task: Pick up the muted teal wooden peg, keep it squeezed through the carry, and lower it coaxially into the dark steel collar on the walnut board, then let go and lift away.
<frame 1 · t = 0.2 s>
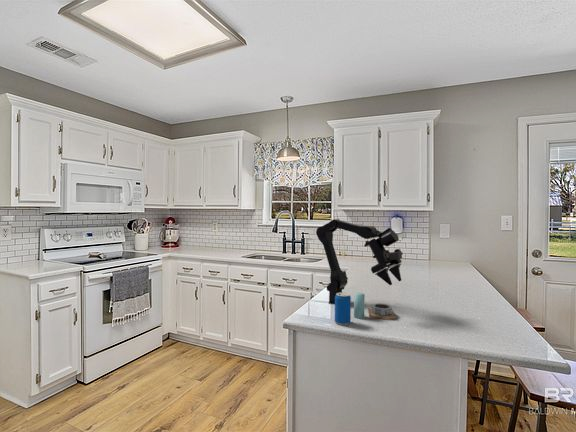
hand: (395, 282, 143), 15 cm above the counter, tool tilted 30°, fingers open, 9 cm apart
peg: (359, 316, 142), on the counter
base board: (381, 315, 145), on the counter
beverage can: (342, 323, 135), on the counter
collar: (381, 309, 145), on the base board, point 2 cm above the counter
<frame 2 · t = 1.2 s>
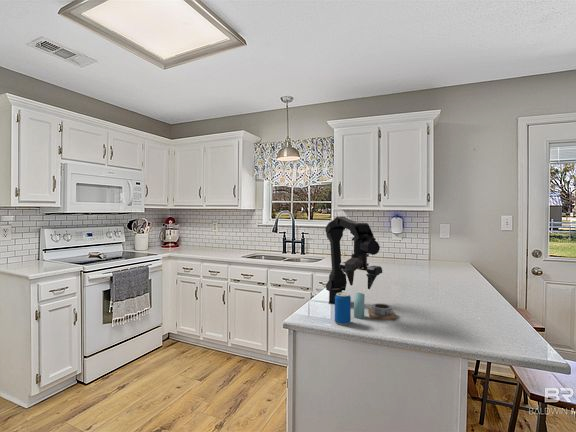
hand: (359, 287, 142), 13 cm above the counter, tool pointing down, fingers open, 9 cm apart
nothing on the counter moved.
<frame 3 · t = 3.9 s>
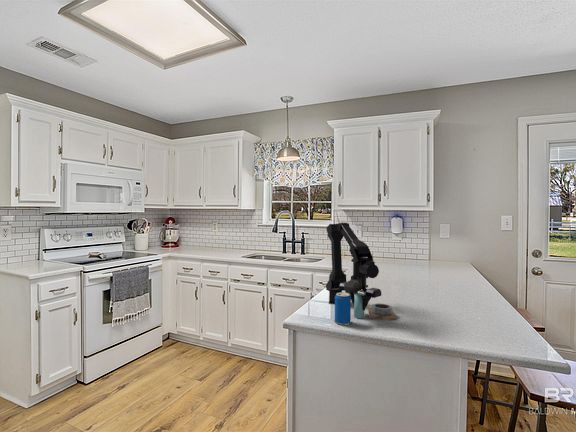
hand: (359, 308, 142), 4 cm above the counter, tool pointing down, fingers closed on peg, 4 cm apart
peg: (359, 316, 142), on the counter, touching gripper
everything else where it was.
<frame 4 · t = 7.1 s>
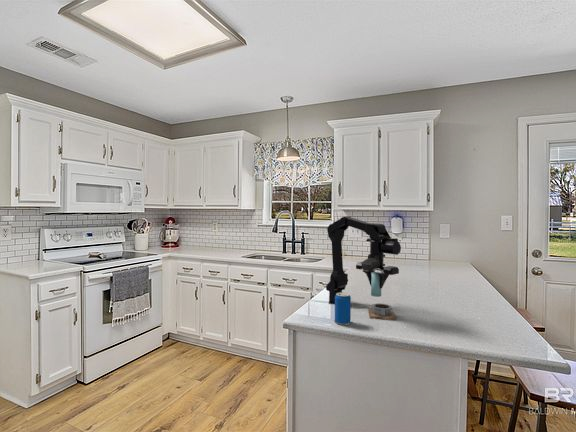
hand: (376, 287, 144), 13 cm above the counter, tool pointing down, fingers closed on peg, 4 cm apart
peg: (376, 295, 144), point 9 cm above the counter, touching gripper
everything else where it was.
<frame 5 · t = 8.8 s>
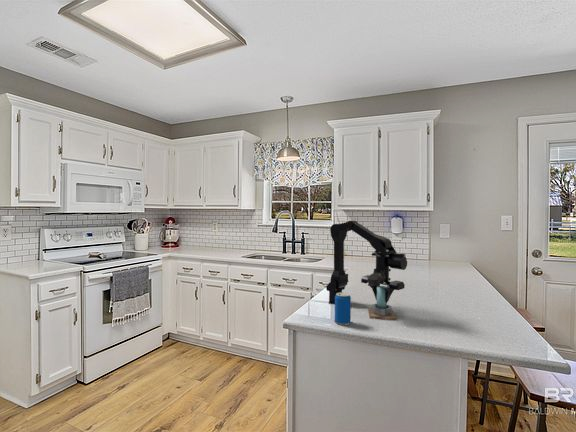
hand: (381, 301, 145), 6 cm above the counter, tool pointing down, fingers closed on peg, 4 cm apart
peg: (381, 309, 145), point 3 cm above the counter, touching gripper
everything else where it was.
when the fingers open (5 cm above the counter, at t = 10.1 s): peg stays where it is, resting on base board.
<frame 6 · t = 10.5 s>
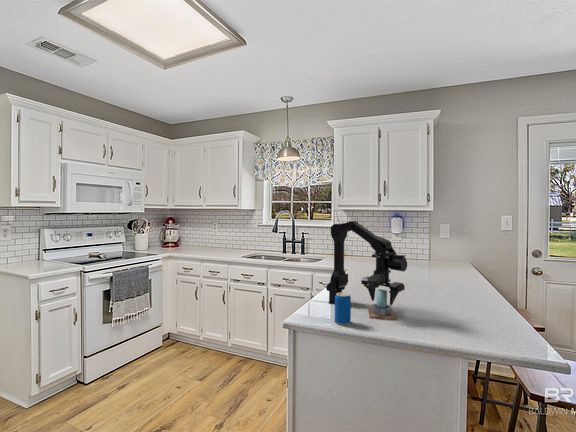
hand: (381, 302, 145), 5 cm above the counter, tool pointing down, fingers open, 9 cm apart
peg: (381, 312, 145), point 1 cm above the counter, touching base board
everything else where it was.
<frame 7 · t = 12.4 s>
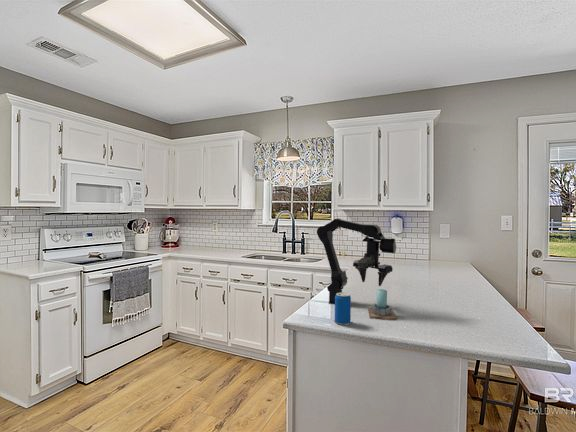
hand: (371, 284, 154), 12 cm above the counter, tool pointing down, fingers open, 9 cm apart
nothing on the counter moved.
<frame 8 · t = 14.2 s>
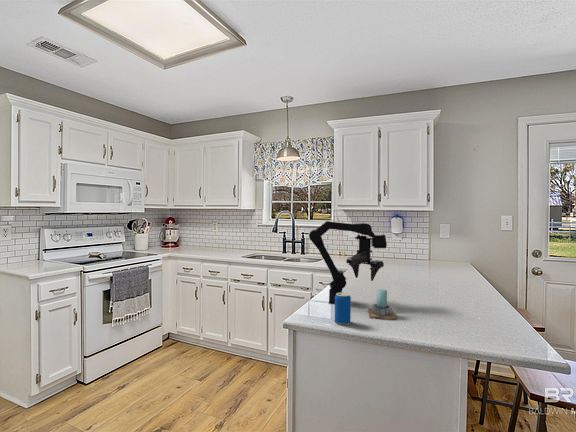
hand: (364, 279, 163), 12 cm above the counter, tool pointing down, fingers open, 9 cm apart
nothing on the counter moved.
at the end: peg 0.1 cm from the collar (horizontally); peg point 1.0 cm above the counter; peg tilted 1° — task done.
